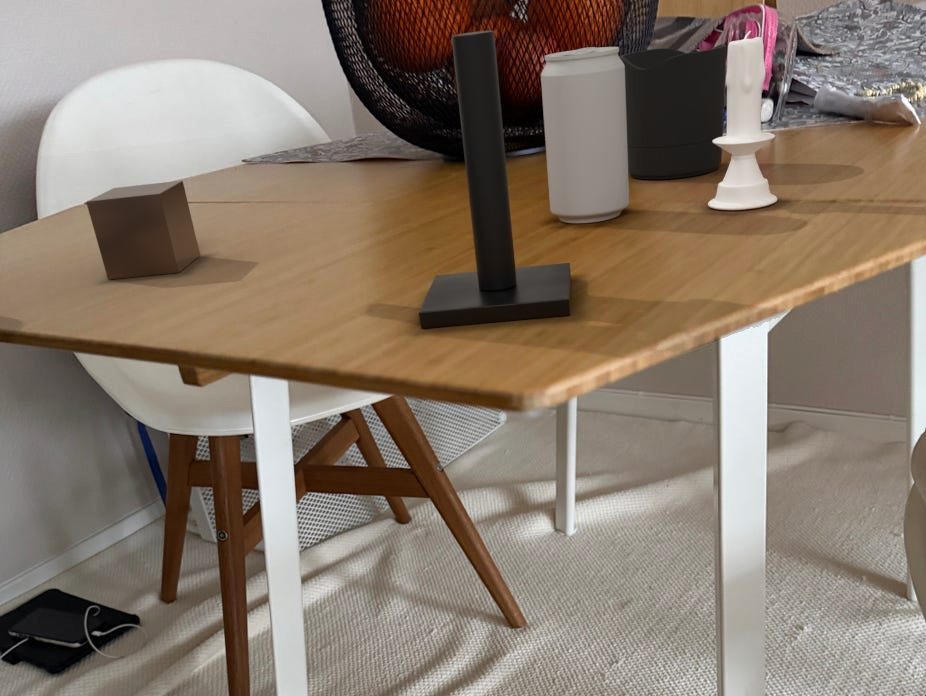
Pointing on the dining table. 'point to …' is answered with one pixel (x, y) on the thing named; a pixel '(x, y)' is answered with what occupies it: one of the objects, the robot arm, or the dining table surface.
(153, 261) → the brown matte cube
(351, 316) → the dining table surface
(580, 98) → the beverage can
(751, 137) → the candle
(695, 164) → the pen holder
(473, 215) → the post stand
